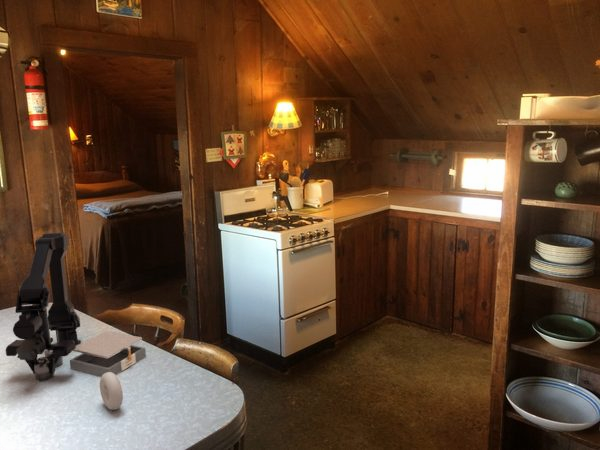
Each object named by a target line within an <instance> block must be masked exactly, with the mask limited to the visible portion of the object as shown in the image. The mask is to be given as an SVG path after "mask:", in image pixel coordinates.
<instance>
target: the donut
mask: <svg viewBox="0 0 600 450" xmlns="http://www.w3.org/2000/svg"><path fill="white" fill-rule="evenodd" d="M99 379H100V380H99V391H100V396H101V398H102V402H103V403H104V405H105V406H106V408H107V409H109V410H111V411H112V410H113V411H114V410H118V409H119V408H120V407H121V406H122V404H123V399H124V395H123V387H122V384H121V381H120V380H119V378H118V376H117V374H116V375H115V374H114V373H112V372H107V373H105V374H103V375H102V377H101V376H100V378H99Z"/></svg>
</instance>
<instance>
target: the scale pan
mask: <svg viewBox="0 0 600 450" xmlns="http://www.w3.org/2000/svg"><path fill="white" fill-rule="evenodd" d="M141 340H143V337H141V336H136V335H129V334H126V333H121V332H117V331H116V332H114V331H111V330H110V331H109V330H105V331H103V332H101V333H99V334H98V335H96V336H95V335H94V337H91V338H90V339H88V340H85V341H83V342H80V343H78V344H76V345H75V347H76V348H75V349H74V350H73V351H72V352H75V353H79V354H82V353H84V354H89V355H93V356H96V357H97V358H98V357H99V358H101V359H102V358H103V359H109V358H112V357H114V356H115V355H117V354H119V353H121V352H120V351H122V350H124V349H126V350H128V354H127V357H128V360H131V359H132V357H131V350H130V349H131V347H129V346H131V345H134V344H136V343H138V342H140V341H141Z"/></svg>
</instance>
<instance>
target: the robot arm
mask: <svg viewBox="0 0 600 450" xmlns="http://www.w3.org/2000/svg"><path fill="white" fill-rule="evenodd" d="M34 242H35V243H34V247H35V250H34V254H33V258H32V261H31V262H32V263H31V266H30V269H29V274H28V276H27V277H26V278H25V279H24V280H22V282H21V285H20V288H19V289H18V292H17V295H16V296H17V297H16V305H15V314H19V316H18V320H17V321H16V322H15V323H14V325H13V326H12V332H13V334H14V336H15V337H16V338H18V339H15V340H14V341H13V342H11V343H9V344H8V345H7V346H6V348H5V349H4V350H5V355H6V357H15V356H16V358H17V359H19V360H21V361H24V362H25V363H26V364H27V365H28V367H29V368H30V370H31V372H32V373H33V375H35V370H34V362H36V361H38V355H43V353H44V352H45V351H50V355H48V356H47V357H46V358H47V359H48V360H49V366H50V373H51V375H53V376H54V374H55V371H56V369H57V368H56V366H57V363H58V360H59V357H60V356H62V357H67V356H68V355H70V354H71V353H72V352H74V351H73V350H74V349H75V348H76V347H75V346H77V345H79V344H81V343H82V341H81V340H80V339H78V333H77V329H78V328H80V327H81V319H80V316H79V315H78V314H77V312H76V311H75V306H74V304H73V303H72V302H71V301H70V299H69V298H68V297H69V295H68V287H67V278H66V268H65V260H64V258H65V256H66V254H67V252H68V249H69V244H70V240H69V236H68V235H66V233H64V232H63V231H62V232H45V233H43V234H42V235H41V236H38V237H36V240H35V241H34ZM48 273H49V278H50V287H51V291H50V287H49V285H48V283H47V278H48ZM51 297H52V304H51V305H50V303H49V302H50V298H51ZM49 305H50V308H49V309H47V307H49ZM53 331H55V337H56V343H54V344H53V342H54V338H53V337H51V333H50V332H53Z"/></svg>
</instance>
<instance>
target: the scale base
mask: <svg viewBox="0 0 600 450" xmlns="http://www.w3.org/2000/svg"><path fill="white" fill-rule="evenodd" d="M129 347H131V349H130V350H131V357H132V359H131V360H128V356H126V357H124V358H123V359H121V360H119V361H117V362H116V363H114V364H112V365H111V366H109V367H107V366H103V365H99V364H95V363H90V361H91V360H92V359H95V358H96V357H97V356H93V355H89V354H84V353H79V355H77V356H75V357H72V358H70V359H69V365H70V368H69V369H70V370H73V371H76V372H80V373H85V374H90V375H93V376H97V377H100V378H101V377H102V375H103V374H105V373H107V372H112V373H114V374H115V375H116V376H117V375H118V374H119V373H121V372H123V371H124V370H126V369H127V368H130V367H131V366H132V365H135V364H136V363H138V362H139V361H141V360H143V359H144V358H146V357H147V354H146V351H147V350H146V347H143V346H138V345H134V344H133V345H131V346H129ZM119 353H122V354H127V355H128V350H126V349H124V350H122V351H120V352H119ZM145 356H146V357H145Z"/></svg>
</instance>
